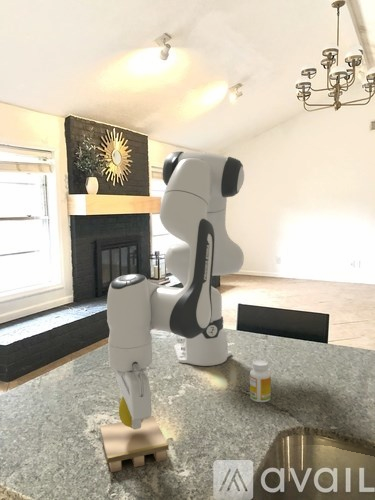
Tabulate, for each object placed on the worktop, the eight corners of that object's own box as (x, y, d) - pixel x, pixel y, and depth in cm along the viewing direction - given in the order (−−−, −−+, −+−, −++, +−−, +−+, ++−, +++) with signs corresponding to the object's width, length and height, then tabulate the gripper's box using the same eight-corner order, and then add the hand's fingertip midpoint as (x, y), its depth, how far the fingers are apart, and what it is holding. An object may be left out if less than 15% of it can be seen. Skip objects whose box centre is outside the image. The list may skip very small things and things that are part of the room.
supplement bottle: (271, 394, 105) (272, 359, 104) (269, 404, 100) (269, 367, 99) (251, 392, 107) (251, 357, 106) (248, 401, 102) (248, 365, 101)
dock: (100, 438, 86) (99, 425, 86) (153, 428, 90) (153, 415, 90) (108, 473, 75) (107, 458, 74) (168, 459, 79) (168, 444, 78)
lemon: (120, 422, 84) (119, 386, 84) (146, 420, 85) (145, 384, 84) (118, 436, 79) (116, 398, 78) (146, 434, 79) (144, 396, 79)
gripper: (159, 371, 72) (160, 443, 73) (135, 337, 91) (137, 394, 92) (124, 377, 70) (127, 450, 71) (107, 341, 89) (110, 399, 90)
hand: (132, 418), depth 82 cm, fingers closed on lemon, 5 cm apart
